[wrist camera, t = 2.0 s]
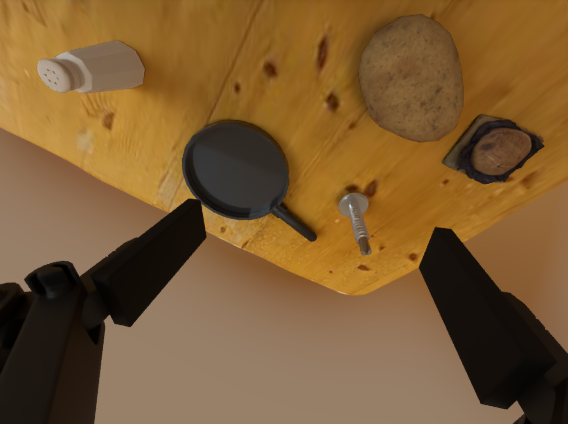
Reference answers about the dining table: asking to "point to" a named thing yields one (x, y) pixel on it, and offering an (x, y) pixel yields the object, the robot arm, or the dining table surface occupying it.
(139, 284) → the robot arm
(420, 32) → the potato
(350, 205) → the screw
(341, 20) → the dining table surface
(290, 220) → the pan handle
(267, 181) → the pan
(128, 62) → the salt shaker
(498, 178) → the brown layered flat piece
